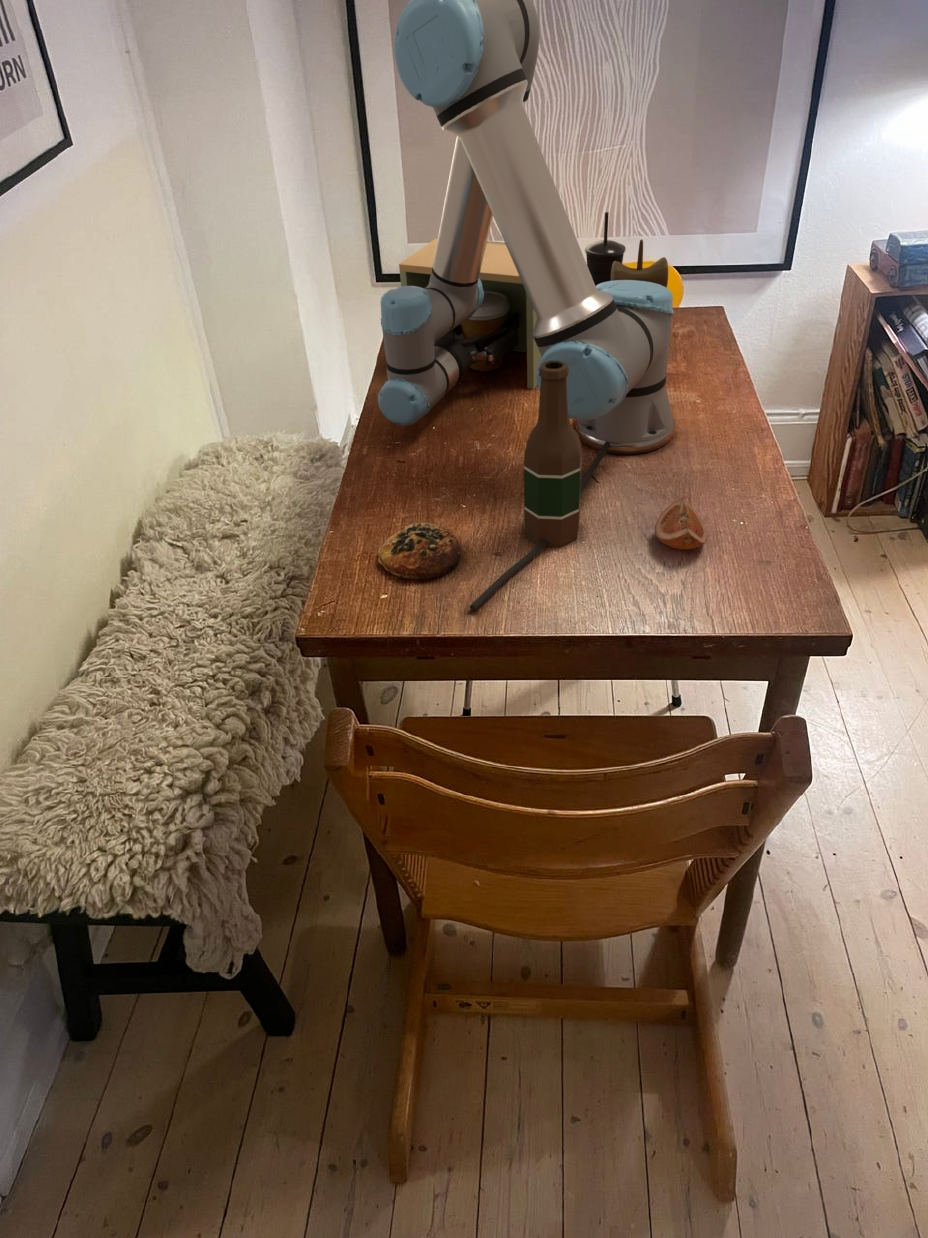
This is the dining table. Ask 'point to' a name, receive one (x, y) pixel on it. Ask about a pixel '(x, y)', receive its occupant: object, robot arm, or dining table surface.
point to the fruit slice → (680, 526)
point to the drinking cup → (603, 256)
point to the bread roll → (420, 552)
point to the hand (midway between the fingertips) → (494, 317)
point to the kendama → (642, 270)
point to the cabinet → (494, 277)
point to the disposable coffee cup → (487, 323)
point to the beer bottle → (552, 464)
